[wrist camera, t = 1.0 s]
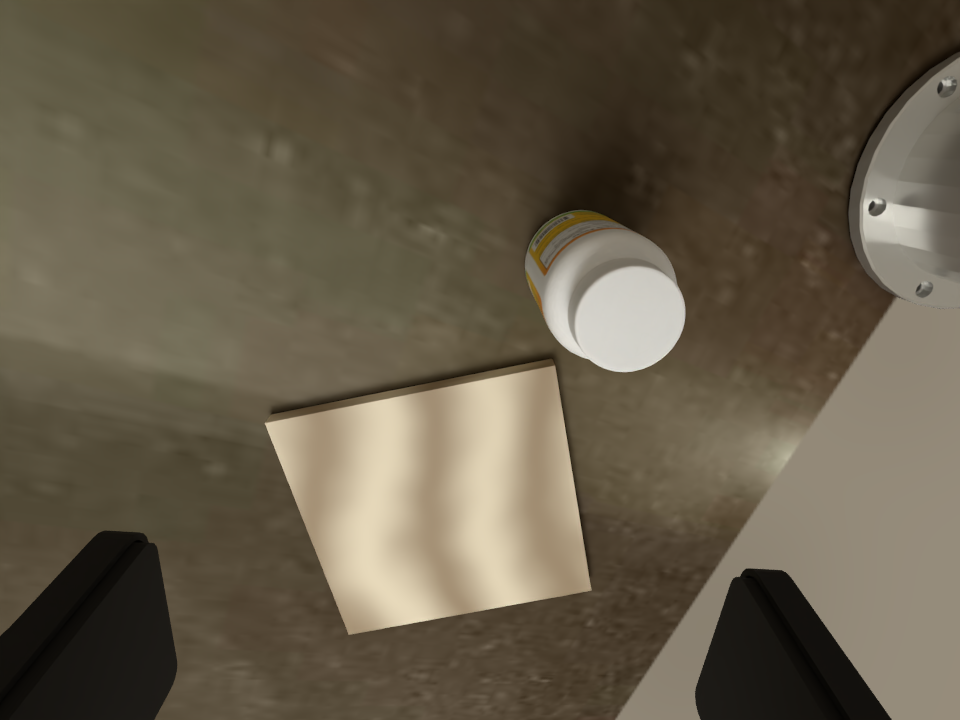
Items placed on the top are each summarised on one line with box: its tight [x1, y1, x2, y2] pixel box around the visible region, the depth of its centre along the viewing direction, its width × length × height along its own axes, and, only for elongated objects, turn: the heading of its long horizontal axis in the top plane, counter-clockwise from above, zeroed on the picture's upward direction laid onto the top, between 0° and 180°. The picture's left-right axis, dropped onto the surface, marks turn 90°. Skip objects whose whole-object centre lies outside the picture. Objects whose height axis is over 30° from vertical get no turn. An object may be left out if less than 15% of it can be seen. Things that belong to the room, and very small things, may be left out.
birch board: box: [265, 359, 591, 635], centre depth 33 cm, size 16×16×1 cm
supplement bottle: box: [525, 210, 685, 372], centre depth 24 cm, size 5×5×10 cm
